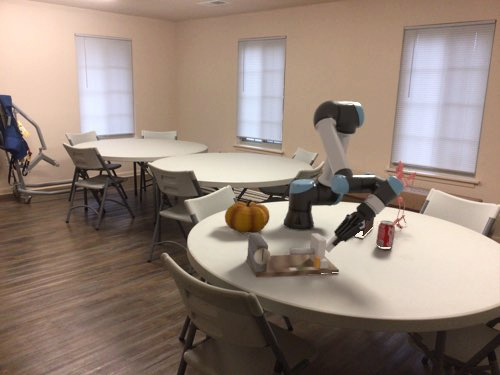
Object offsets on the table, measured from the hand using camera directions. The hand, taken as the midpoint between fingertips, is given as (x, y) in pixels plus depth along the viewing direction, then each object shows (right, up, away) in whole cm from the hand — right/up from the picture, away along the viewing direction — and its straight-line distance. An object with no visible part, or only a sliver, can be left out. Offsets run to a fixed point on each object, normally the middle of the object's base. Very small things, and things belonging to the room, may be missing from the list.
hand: (325, 249), depth 167 cm
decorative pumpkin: (-31, +4, +39) cm, 50 cm away
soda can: (+31, -3, +26) cm, 40 cm away
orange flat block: (-5, -6, -6) cm, 9 cm away
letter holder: (+24, +2, +47) cm, 53 cm away
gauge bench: (-14, -6, -2) cm, 15 cm away
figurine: (+46, +4, +61) cm, 76 cm away
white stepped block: (-8, -5, -2) cm, 10 cm away
